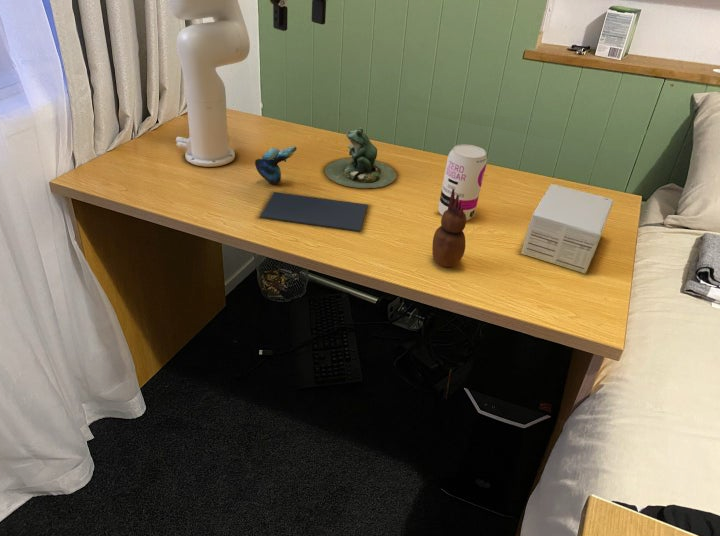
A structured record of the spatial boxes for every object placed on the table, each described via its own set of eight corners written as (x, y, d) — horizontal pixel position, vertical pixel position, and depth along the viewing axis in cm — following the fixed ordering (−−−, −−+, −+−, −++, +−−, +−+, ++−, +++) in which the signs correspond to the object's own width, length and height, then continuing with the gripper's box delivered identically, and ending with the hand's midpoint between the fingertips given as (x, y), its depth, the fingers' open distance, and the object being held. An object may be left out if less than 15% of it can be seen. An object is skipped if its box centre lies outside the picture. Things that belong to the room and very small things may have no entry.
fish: (293, 190, 135) (294, 150, 129) (252, 184, 136) (251, 144, 130) (297, 182, 138) (299, 143, 132) (257, 177, 139) (257, 137, 133)
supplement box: (538, 220, 129) (550, 182, 123) (599, 237, 124) (615, 198, 118) (519, 253, 117) (531, 213, 111) (585, 274, 112) (602, 233, 106)
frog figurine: (331, 155, 152) (334, 111, 145) (399, 163, 150) (405, 120, 143) (318, 183, 138) (320, 137, 131) (392, 193, 136) (398, 146, 129)
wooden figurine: (426, 252, 115) (439, 185, 106) (454, 252, 116) (469, 185, 107) (434, 271, 110) (449, 202, 101) (463, 271, 111) (480, 202, 102)
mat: (259, 217, 124) (259, 216, 123) (274, 193, 133) (274, 191, 133) (360, 231, 121) (360, 230, 121) (367, 206, 130) (367, 204, 130)
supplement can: (475, 209, 132) (490, 147, 122) (471, 225, 125) (486, 161, 116) (440, 202, 133) (453, 140, 124) (434, 218, 127) (447, 154, 118)
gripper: (322, -86, 104) (318, 17, 114) (248, -85, 94) (251, 28, 104) (353, -82, 100) (345, 24, 110) (278, -81, 90) (278, 36, 100)
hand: (299, 26), depth 107 cm, fingers open, 9 cm apart
